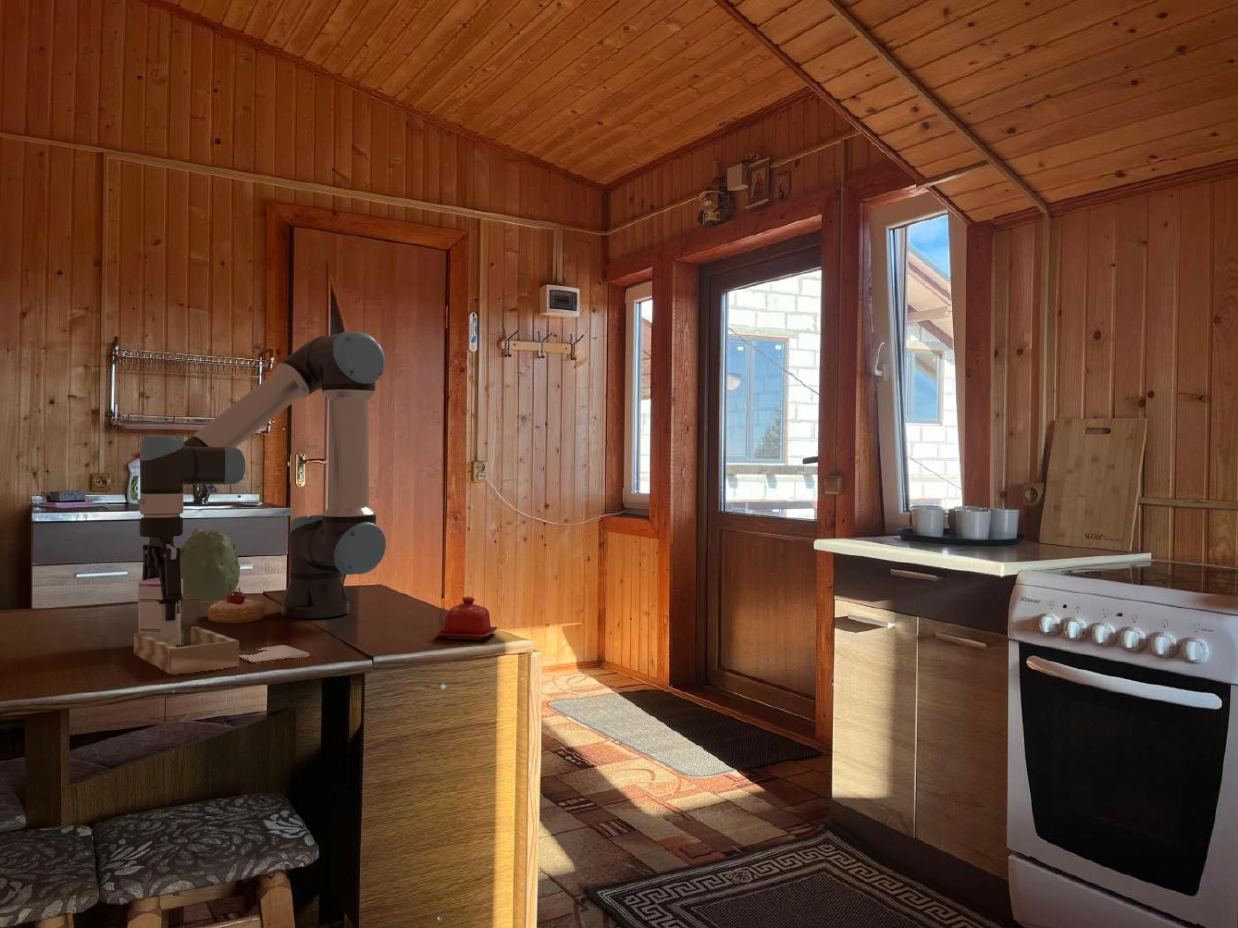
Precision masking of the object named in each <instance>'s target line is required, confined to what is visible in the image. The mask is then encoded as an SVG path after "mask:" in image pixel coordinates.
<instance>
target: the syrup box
mask: <svg viewBox="0 0 1238 928" xmlns="http://www.w3.org/2000/svg"><path fill="white" fill-rule="evenodd" d="M137 589H138V590H137V609H138V610H137V613H138V614H137V616H138V619H137V620H138V625H137V626H138V633H143V634H145V635H148V636H150V637H153V638H155V639H157V640H160V641H162V642H165V643H167V644H170V645H172V646H175V647H178V646H181V645H184V644H185V643H184V642H185V641H184V640H185V638H184V633H185V632H184V631H185V630H184V629H185V628H184V599H183V578H181V592H182V599H181V600H178V603H177V637H173V638H164V639H161V638H160V604H159V601H160V600H162V593H161V583H160V578H154V579H148V580H142V579H141V580H139V581H137ZM184 646H185V645H184ZM181 647H182V646H181Z"/></svg>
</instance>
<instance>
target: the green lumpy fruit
mask: <svg viewBox="0 0 1238 928" xmlns="http://www.w3.org/2000/svg"><path fill="white" fill-rule="evenodd" d="M180 549H181V554H180V571H181V578H183V600H184V601H186V600H189V599H200V600H194V601H214V600H225V599H226V597H227V595H228V594H229V593H232V592H235V591H236V589H237V587H238V585H239V582H240V575H241V565H240V564H239V558H238V553H237V551H236V550H235V549H236V543H234V544H232V542H231V539H230V536H228V534H227V533H225V534H224V533H222V532H220V531H217V530H211V529H202V528H194V529H193V530H192V533H191V536H190V537H188V538H187V540H186V541H185V542H184V544H183V546H182V547H180Z"/></svg>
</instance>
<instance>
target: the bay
mask: <svg viewBox="0 0 1238 928" xmlns="http://www.w3.org/2000/svg"><path fill="white" fill-rule="evenodd" d="M239 651H240V640H238V639H235V638H231V637H228V636H226V635H223V634H220V633H217V632H214V631H211V630H208V629H205V628H203V627H200V626H191V627H190V645H184V646H181V647H175V646H172V645H170V644H167V643H165V642H162V641H160V640H157V639H155V638H153V637H150V636H148V635H145V634H143V633H139V632H137V633H135V632H134V634H133V654H134V655H135V656H137V657H139V658H141V659H142V660H143V661H145V662H147V661H148V663H150V664H151V665H153V666H154V665H156V666H157V667H159V668H160V669H159V668H158V669H159V670H161V669H162V670H161V671H163V670H164V671H165V672H164V671H163V672H164V673H166V672H167V673H166V674H168V673H170V674H172V675H173V674H179V673H191V674H195V673H194V672H199V673H201V672H200V671H207V672H209V671H208V670H214V671H217V670H216V669H222V670H224V669H223V668H228V667H234V666H239V667H240V658H239ZM156 666H155V667H156ZM157 667H156V668H157Z"/></svg>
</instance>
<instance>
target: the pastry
mask: <svg viewBox="0 0 1238 928" xmlns="http://www.w3.org/2000/svg"><path fill="white" fill-rule="evenodd" d="M265 611H266V605H265V603H264V602H263V601H262V600H256V599H253V600H251V599H248V598H247V599H246V594H245V593H244V592H242V591H241V588H240V587H238V588H236V589H235V591H234V592H232V593H229V594H228V595H227V597H226V601H219V602H217V603H214V604H212V605H210V606H209V607H208V608H207V619H208V620H209V621H210V620H211V621H210V622H215V623H221V624H228V623H229V624H236V623H237V624H239V623H249V622H256V621H260V620H263V618H264V616H265Z"/></svg>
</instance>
